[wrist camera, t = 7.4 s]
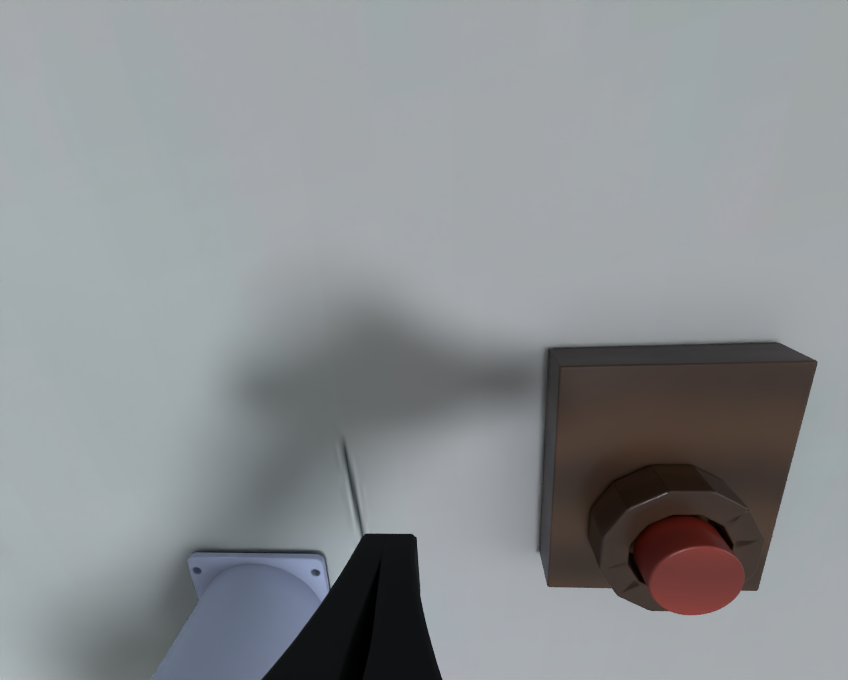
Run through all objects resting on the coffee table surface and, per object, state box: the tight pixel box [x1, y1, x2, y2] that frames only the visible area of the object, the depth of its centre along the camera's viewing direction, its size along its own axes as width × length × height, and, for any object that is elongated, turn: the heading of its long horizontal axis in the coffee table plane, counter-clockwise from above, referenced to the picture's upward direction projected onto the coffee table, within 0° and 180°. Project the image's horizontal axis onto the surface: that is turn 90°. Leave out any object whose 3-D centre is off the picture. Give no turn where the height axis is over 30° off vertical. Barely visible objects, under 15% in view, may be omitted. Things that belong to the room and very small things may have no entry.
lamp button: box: [633, 515, 745, 615], centre depth 18 cm, size 4×4×2 cm
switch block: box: [540, 343, 817, 611], centre depth 20 cm, size 12×10×4 cm
